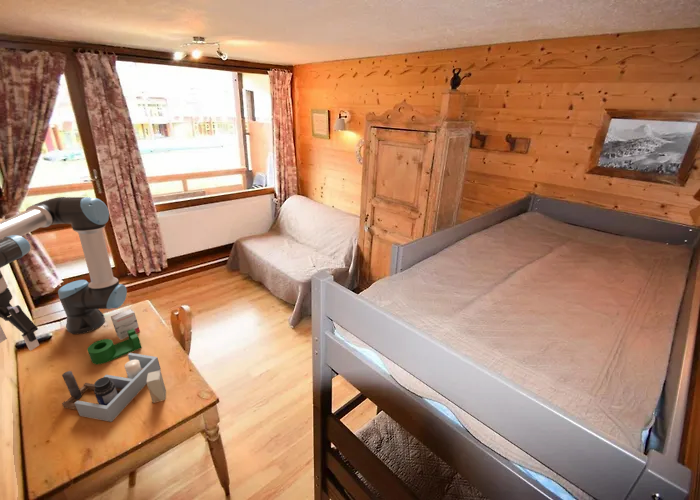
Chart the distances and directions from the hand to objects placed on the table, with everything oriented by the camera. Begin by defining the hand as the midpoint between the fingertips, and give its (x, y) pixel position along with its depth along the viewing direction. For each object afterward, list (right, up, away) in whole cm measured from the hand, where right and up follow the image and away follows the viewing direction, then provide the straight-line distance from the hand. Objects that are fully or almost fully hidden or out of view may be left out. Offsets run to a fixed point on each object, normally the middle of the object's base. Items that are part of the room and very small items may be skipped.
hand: (18, 344), depth 111 cm
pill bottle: (+23, -26, +11) cm, 36 cm away
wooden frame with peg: (+18, -25, +12) cm, 33 cm away
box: (+40, -25, +15) cm, 49 cm away
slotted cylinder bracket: (+8, -14, +35) cm, 39 cm away
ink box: (+6, -9, +47) cm, 48 cm away
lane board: (+25, -23, +17) cm, 38 cm away
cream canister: (+26, -21, +22) cm, 40 cm away
